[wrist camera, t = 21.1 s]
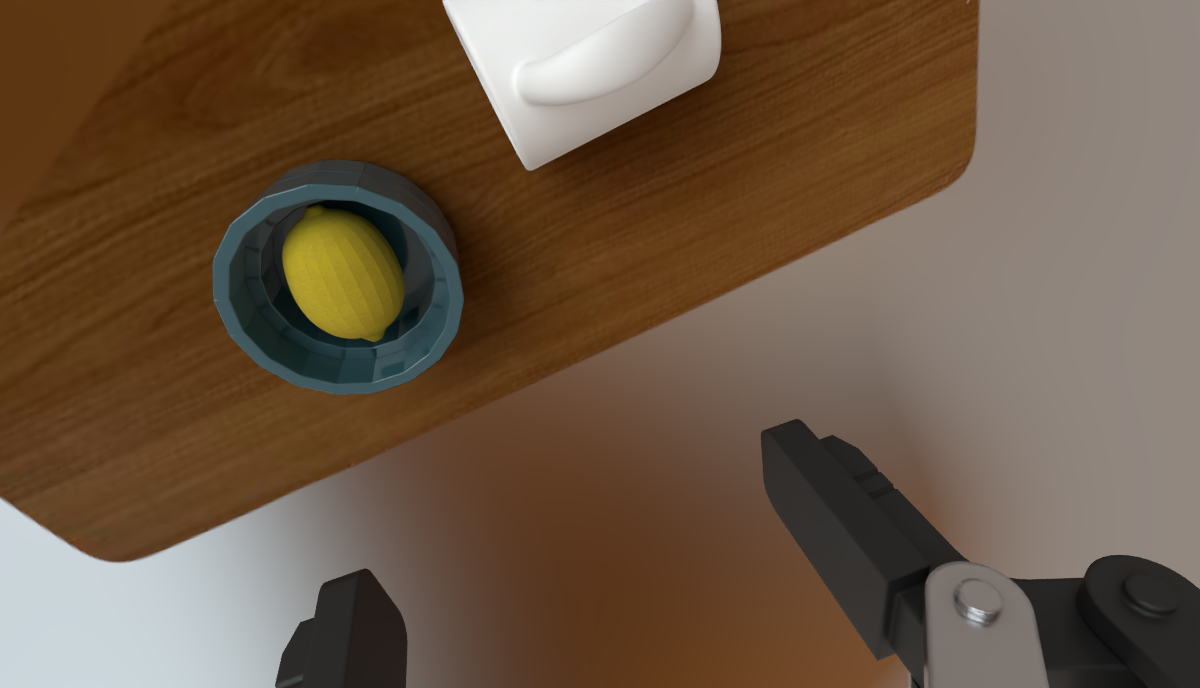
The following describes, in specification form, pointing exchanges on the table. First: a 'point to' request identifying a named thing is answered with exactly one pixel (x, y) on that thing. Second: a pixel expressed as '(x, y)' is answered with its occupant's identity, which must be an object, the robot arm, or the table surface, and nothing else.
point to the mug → (583, 63)
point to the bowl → (275, 321)
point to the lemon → (343, 273)
